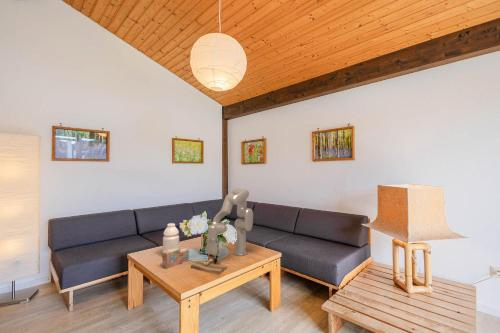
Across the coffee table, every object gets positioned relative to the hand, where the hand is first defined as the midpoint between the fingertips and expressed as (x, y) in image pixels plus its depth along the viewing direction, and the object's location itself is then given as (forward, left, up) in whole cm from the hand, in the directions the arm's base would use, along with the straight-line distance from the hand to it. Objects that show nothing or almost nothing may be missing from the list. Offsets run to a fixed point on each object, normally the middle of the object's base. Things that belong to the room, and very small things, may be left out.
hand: (212, 262), depth 192 cm
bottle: (0, -44, -2) cm, 44 cm away
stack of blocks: (+12, -28, -2) cm, 30 cm away
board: (+8, +2, -1) cm, 8 cm away
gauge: (+4, 0, -1) cm, 4 cm away
